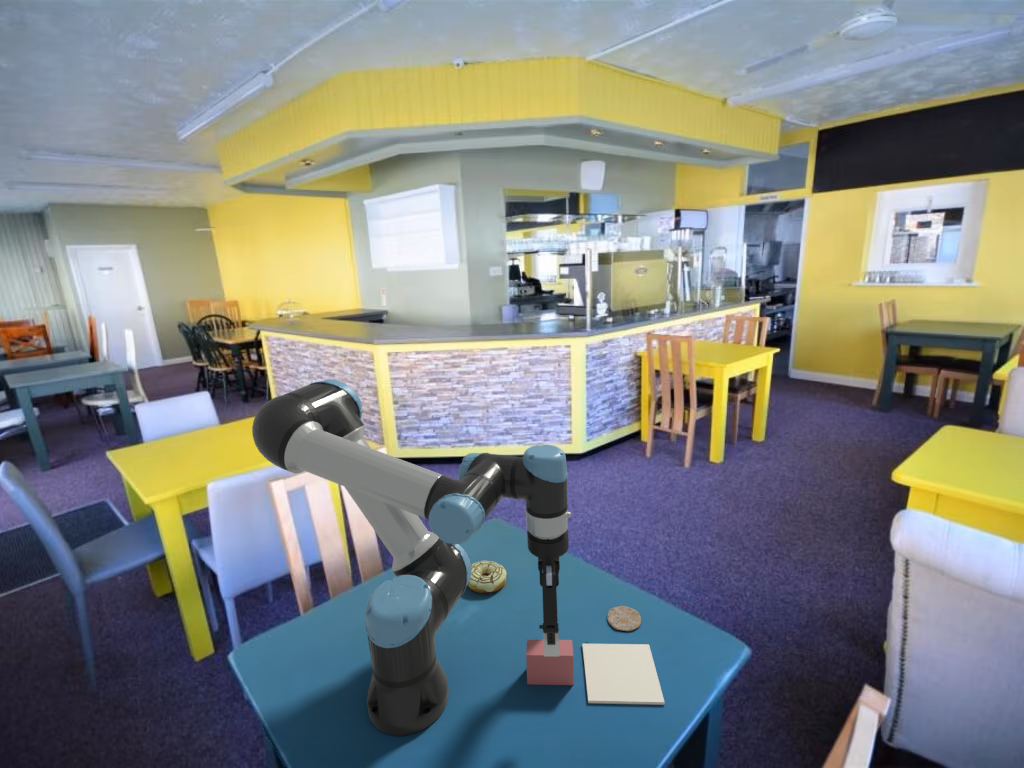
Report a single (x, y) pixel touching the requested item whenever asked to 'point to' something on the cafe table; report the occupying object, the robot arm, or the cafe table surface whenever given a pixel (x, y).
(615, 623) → the flatbread
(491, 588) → the decorated donut
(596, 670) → the serving mat
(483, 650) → the cafe table surface
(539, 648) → the card deck box
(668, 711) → the cafe table surface
